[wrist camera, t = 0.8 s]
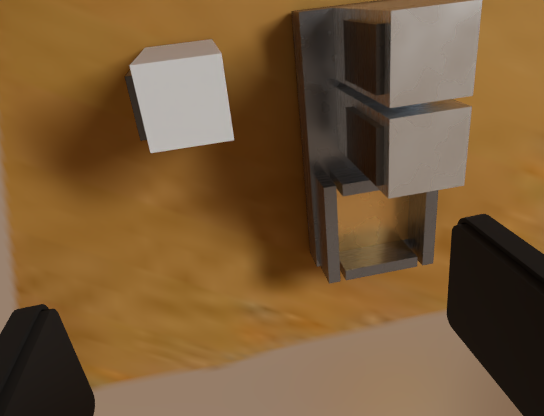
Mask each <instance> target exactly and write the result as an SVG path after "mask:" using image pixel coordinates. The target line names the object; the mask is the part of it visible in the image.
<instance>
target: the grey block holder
mask: <svg viewBox="0 0 544 416" xmlns="http://www.w3.org/2000/svg"><path fill="white" fill-rule="evenodd" d="M481 8H482V0H378V1H370V2H362V3H354V4H346V5H338V6H330V7H322V8H313V9H305V10H297V11H291V12H292V25H293V38H294V50H295V63H296V76H297V89H298V102H299V115H300V128H301V141H302V153H303V166H304V179H305V192H306V205H307V218H308V231H309V244H310V253H311V255H312V257H313V260H314V262H315V264H316V266H317V267H318V266H321V268H322V270H323V272H324V274H325V276H326V278H327V280H328V282H329V283H334V282H339V281H340V270H341V272H342V274H343V276H344V278H345V279H346V280H349V279H355V278H360V277H365V276H370V275H375V274H380V273H385V272H391V271H396V270H401V269H406V268H411V267H416V266H417V260H418V261H419V262H420V263H421V264H422V265H427V264H432V263H433V257H434V243H435V229H436V215H437V200H438V190H441V189H447V188H452V187H458V186H464V181H465V171H466V161H467V150H468V140H469V130H470V120H471V110H472V106H469V105H467V104H464V103H461V102H459V101H456V100H453V99H454V98H460V97H467V96H473V89H474V79H475V69H476V59H477V49H478V38H479V28H480V18H481Z"/></svg>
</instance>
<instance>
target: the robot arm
mask: <svg viewBox="0 0 544 416" xmlns="http://www.w3.org/2000/svg"><path fill="white" fill-rule="evenodd" d="M447 318H448V321H449V323H450V325H451V327H452V328H453V330H454V331H455V332H456V333H457V335H458V336H459V337H460V338H461V340H462V341H463V342H464V343H465V344H466V346H467V347H468V348H469V349H470V351H471V352H472V353H473V354H474V356H475V357H476V358H477V359H478V361H479V362H480V363H481V364H482V365H483V367H484V368H485V369H486V370H487V372H488V373H489V374H490V375H491V376H492V378H493V379H494V380H495V381H496V383H497V384H498V385H499V386H500V388H501V389H502V390H503V391H504V392H505V394H506V395H507V396H508V397H509V399H510V400H511V401H512V402H513V403H514V405H515V406H516V407H517V408H518V410H519V411H520V412H521V413H522V415H523V416H544V254H543V253H541V252H540V251H538V250H537V249H535V248H534V247H533V246H531V245H530V244H528V243H527V242H525V241H524V240H523V239H521V238H520V237H518V236H517V235H516V234H514V233H513V232H511V231H510V230H508V229H507V228H506V227H504V226H503V225H501V224H500V223H499V222H497V221H496V220H494V219H493V218H491V217H490V216H489V215H486V214H480V215H475V216H470V217H465V218H461V219H460V220H459V222H458V224H457V225H456V226H454V227H453V229H452V238H451V253H450V269H449V285H448V301H447ZM94 409H95V399H94V395H93V392H92V389H91V387H90V385H89V383H88V380H87V378H86V376H85V373H84V371H83V369H82V367H81V364H80V362H79V360H78V357H77V355H76V353H75V351H74V348H73V346H72V344H71V341H70V339H69V337H68V334H67V332H66V330H65V328H64V325H63V323H62V321H61V318H60V316H59V314H58V312H57V311H56V310H55V309H48V307H47V306H46V305H44V304H41V305H36V306H31V307H26V308H21V309H17V310H14V312H13V313H12V314H11V316H10V318H9V320H8V321H7V323H6V325H5V327H4V329H3V330H2V332H1V334H0V416H93V414H94Z"/></svg>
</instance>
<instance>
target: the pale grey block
mask: <svg viewBox="0 0 544 416" xmlns="http://www.w3.org/2000/svg"><path fill="white" fill-rule="evenodd" d="M129 66H130V71H129V72H128V73H127V74H126V75H125V80H126V84H127V88H128V92H129V96H130V100H131V104H132V108H133V112H134V116H135V120H136V124H137V128H138V132H139V136H140V140H141V141H142V140H147V141H148V145H149V149H150V153H155V152H162V151H168V150H174V149H181V148H187V147H194V146H200V145H207V144H213V143H220V142H226V141H233V140H234V135H233V128H232V121H231V115H230V108H229V101H228V94H227V88H226V81H225V74H224V67H223V61H222V54H221V52H220V50H219V49H218V47H217V46H216V44H215V43H214V41H213V40H212V39H209V40H201V41H194V42H186V43H178V44H170V45H162V46H155V47H147V48H144V49H143V51H142V52H141V53H140V54H139V55H138V56H137V57H136V59H135V60H134V61H133V62H132V63H131V64H130V65H129Z"/></svg>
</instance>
